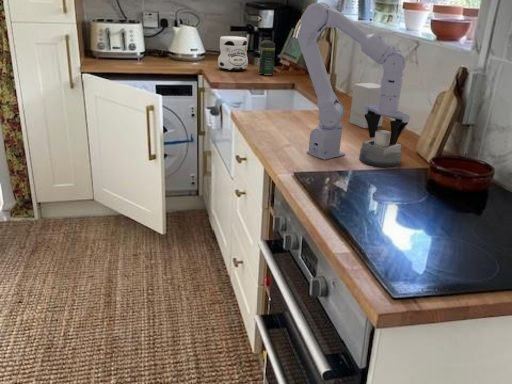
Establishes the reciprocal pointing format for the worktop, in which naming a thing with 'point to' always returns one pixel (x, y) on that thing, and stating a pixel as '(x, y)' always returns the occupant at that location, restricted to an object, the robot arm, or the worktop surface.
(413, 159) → the worktop surface
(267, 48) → the coffee jar
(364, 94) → the supplement box
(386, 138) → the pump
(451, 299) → the worktop surface
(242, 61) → the milk container
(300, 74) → the worktop surface
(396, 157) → the square tube on disc
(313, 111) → the worktop surface
